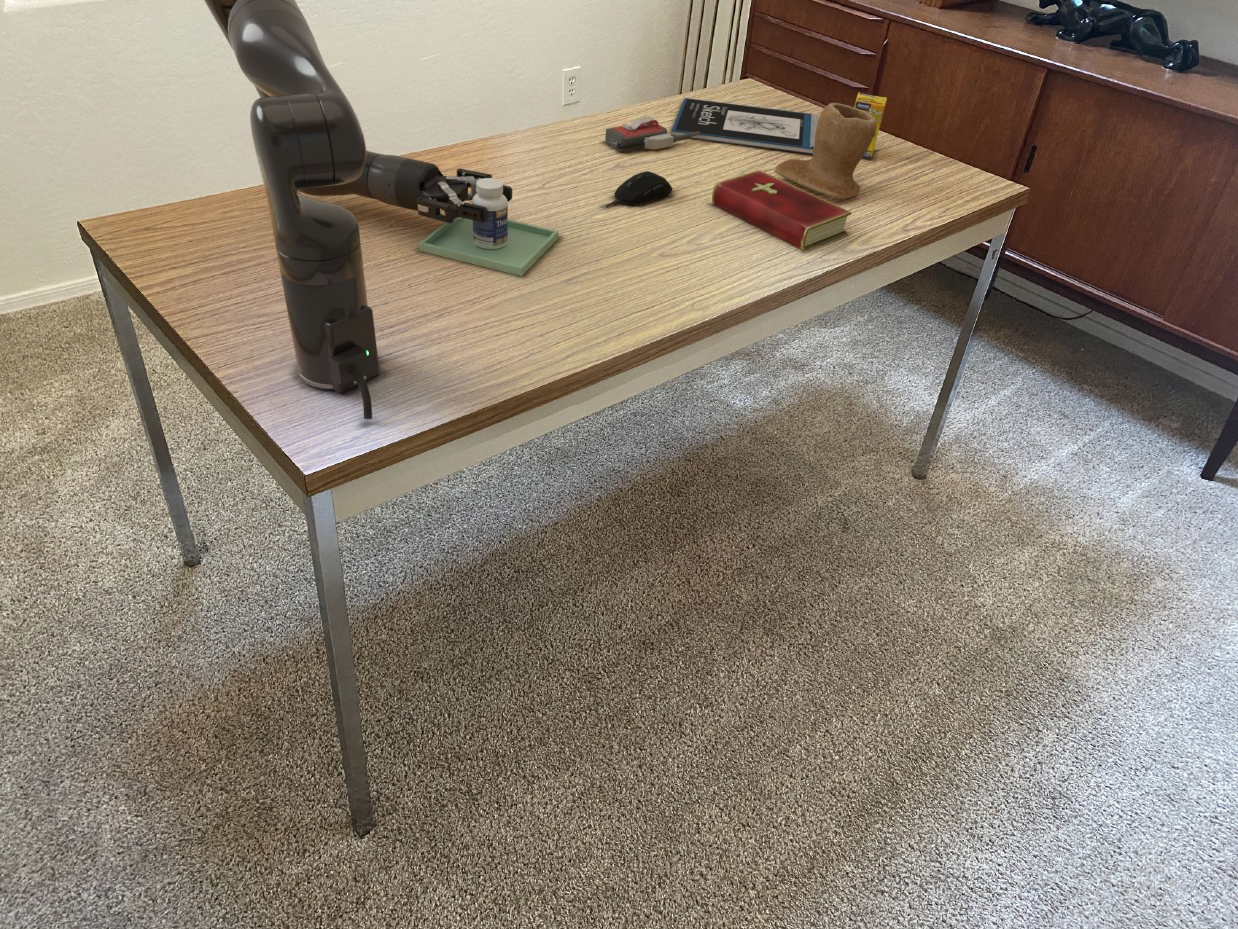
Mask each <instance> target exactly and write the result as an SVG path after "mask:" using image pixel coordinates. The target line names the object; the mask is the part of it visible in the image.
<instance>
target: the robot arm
mask: <svg viewBox="0 0 1238 929" xmlns="http://www.w3.org/2000/svg"><path fill="white" fill-rule="evenodd" d="M203 1H204V4H205V5H206V7H207V8H208V10H209V12H210V14H211V15H212V17H213V20H215V22H216V24H217V26H218V27H219V29H220V31H221V32H222V34H223V37H225V40H227V43H228V45H229V46H230V48H231V49H232V51H233V53H234V56H235V58H236V62H237V64H238V66H239V69H240V70H241V72H242V73H243V74H244V76H245V77H246V78H247V80H248V81H249V82H250V83H251V84H253V86H254V88H255V90H256V92H257V94H258V95H259V97H258V98H257V99H254V101H253V103H252V105H251V108H250V113H249V119H250V120H249V122H250V123H249V124H250V131H251V138H252V142H253V148H254V151H255V155H256V159H257V163H258V168H259V171H260V173H261V178H262V184H263V187H264V191H265V196H266V200H267V206H268V210H269V217H270V222H271V228H272V235H273V240H274V245H275V251H276V256H277V262H278V266H279V273H280V278H281V279H280V280H281V284H282V289H283V294H284V295H283V296H284V301H285V305H286V306H285V307H286V311H287V317H288V323H289V327H290V334H291V339H292V343H293V344H292V345H293V349H294V355H295V360H296V371H297V374H298V377H299V379H300V380H301V381H302V382H303V383H305V384H306V385H308V386H310V387H313V388H316V389H320V390H328V391H329V390H331V391H335V392H336V393H338V394H342V393H344V392H346V391H349V390H350V389H352V388H354V387H357V386H358V388H359V391H360V394H361V399H362V405H363V406H362V407H363V408H362V409H363V420H372V419H373V405H372V397H371V394H370V390H369V387H368V385H367V382H366V381H369V380H371V379H373V378H375V377H377V376H379V375H380V373H381V372H380V362H379V354H378V346H377V337H376V328H375V320H374V310H373V309H372V307H370V306H369V302H368V295H367V294H368V293H367V286H366V279H365V270H364V269H365V268H364V260H363V249H362V243H361V232H360V226H359V222H358V220H357V218H356V216H355V215H354V214H353V213H352V212H351V211H350V210H348V209H347V208H345V207H343V206H340V205H337V204H335V203H332V202H331V203H330V202H327V201H322V200H319V199H315V198H312V197H334V196H335V197H337V196H340V197H341V196H351V195H355V196H359V197H363V198H367V199H372V200H376V201H378V202H381V203H383V204H387V205H389V206H393V207H397V208H402V209H406V210H411V211H414V212H417V215H418V216H421V217H423V218H428V219H432V220H436V221H439V222H442V223H445V222H446V223H453V222H454V219H455V218H456V219H463V218H466V219H471V220H475V221H479V222H486V221H487V220H488V209H487V208H486V207H484V206H479V205H475V204H472V199H473V197H474V196H475V195H476V194H477V191H476V183H477V181H478V180H480V179H483V178H493V174H491V173H486V172H482V171H475V170H470V169H465V168H457V169H456V174H455V175H444V174H443V173H442V171H441V170H440V168H439V167H438V165H436V164H434V163H433V162H432V163H431V162H429V161H422V160H418V159H414V158H410V157H404V156H400V155H395V154H383V153H379V152H374V151H370V150H367V146H366V144H367V143H366V140H365V137H364V132H363V129H362V126H361V124H360V121H359V118H358V116H357V114H356V112H355V110H354V108H353V106H352V104H351V102H350V100H349V99H348V98H347V96H346V94H345V92H344V91H343V90H342V88H341V86H340V85H339V83H338V82H337V81H336V79H335V78H334V76H333V75H332V73H331V72H330V70H329V69H328V67H327V65H326V62H325V61H324V58H323V56H322V54H321V52H320V48H319V46H318V44H317V41H316V39H315V36H314V34H313V32H312V30H311V27H310V26H309V24H308V21H307V19H306V18H305V16H304V14H303V12H302V11H301V9H300V7H299V5H298V3H297V1H296V0H203ZM469 189H470V190H469ZM304 194H305V195H304ZM502 194H503V195H504V196H505V197H506V198H507V202H510V201H512V199H513V188H512V187H511V185H510V186H509V185H505V184H503V193H502ZM307 195H308V196H307ZM309 196H312V197H309ZM469 201H471V202H469ZM441 211H443V212H444V214H442V213H441Z"/></svg>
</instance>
